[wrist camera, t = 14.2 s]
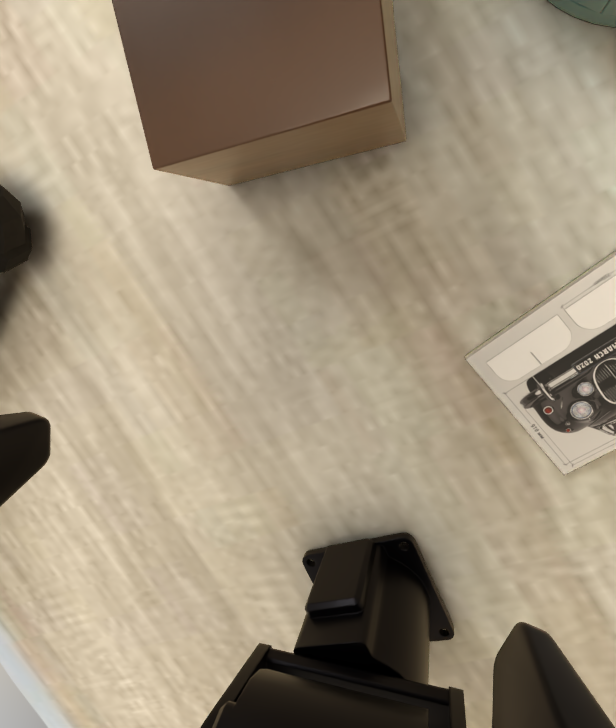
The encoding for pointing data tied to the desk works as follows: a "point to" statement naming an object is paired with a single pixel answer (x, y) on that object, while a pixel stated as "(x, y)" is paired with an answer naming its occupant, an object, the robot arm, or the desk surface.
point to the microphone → (12, 233)
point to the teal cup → (590, 10)
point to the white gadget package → (561, 369)
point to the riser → (261, 82)
